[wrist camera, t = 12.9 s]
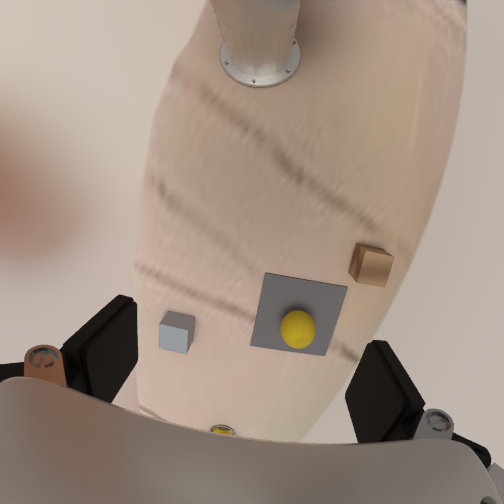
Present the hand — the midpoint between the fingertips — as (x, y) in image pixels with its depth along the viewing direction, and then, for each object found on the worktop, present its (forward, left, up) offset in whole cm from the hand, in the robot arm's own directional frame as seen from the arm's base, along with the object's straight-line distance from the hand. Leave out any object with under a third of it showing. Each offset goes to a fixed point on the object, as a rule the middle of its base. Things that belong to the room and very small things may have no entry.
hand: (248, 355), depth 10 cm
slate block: (+21, -11, -34) cm, 42 cm away
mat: (+15, +9, -34) cm, 38 cm away
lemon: (+15, +9, -34) cm, 38 cm away
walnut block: (+3, +18, -34) cm, 39 cm away
